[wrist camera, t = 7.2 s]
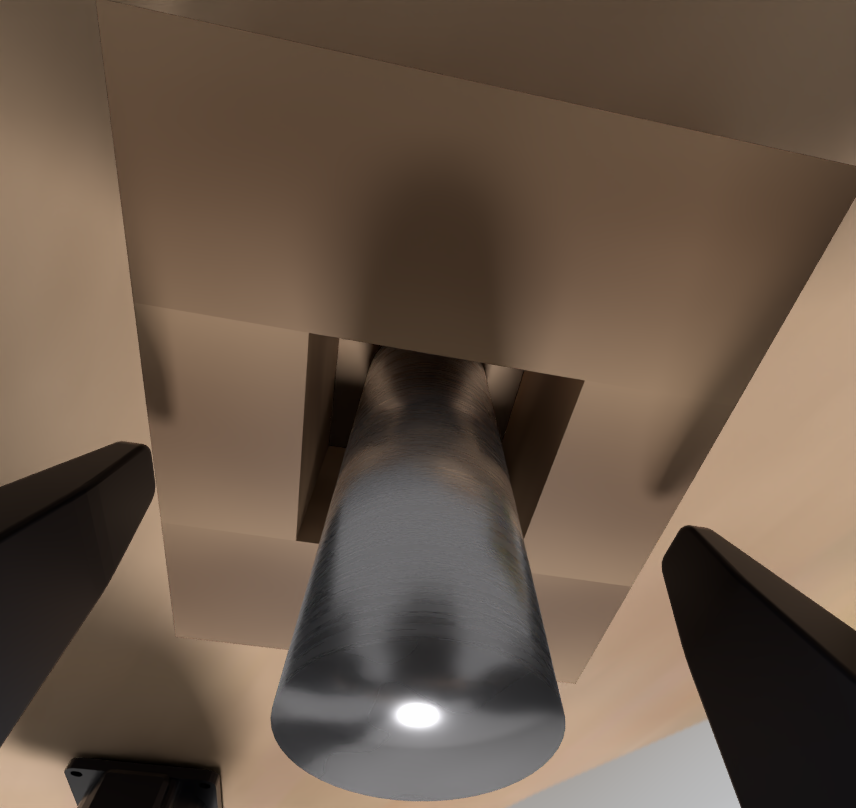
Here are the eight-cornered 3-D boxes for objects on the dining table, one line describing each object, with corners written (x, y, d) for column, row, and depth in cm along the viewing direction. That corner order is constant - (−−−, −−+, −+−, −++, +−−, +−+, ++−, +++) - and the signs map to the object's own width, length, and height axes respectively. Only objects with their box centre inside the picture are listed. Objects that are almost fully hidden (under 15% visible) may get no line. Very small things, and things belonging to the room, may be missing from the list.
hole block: (546, 574, 15) (575, 683, 12) (230, 531, 14) (175, 636, 11) (727, 162, 9) (870, 169, 6) (216, 50, 9) (95, -3, 5)
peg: (471, 443, 13) (519, 812, 6) (360, 425, 12) (268, 787, 5) (498, 340, 11) (609, 663, 4) (375, 318, 11) (272, 622, 4)
